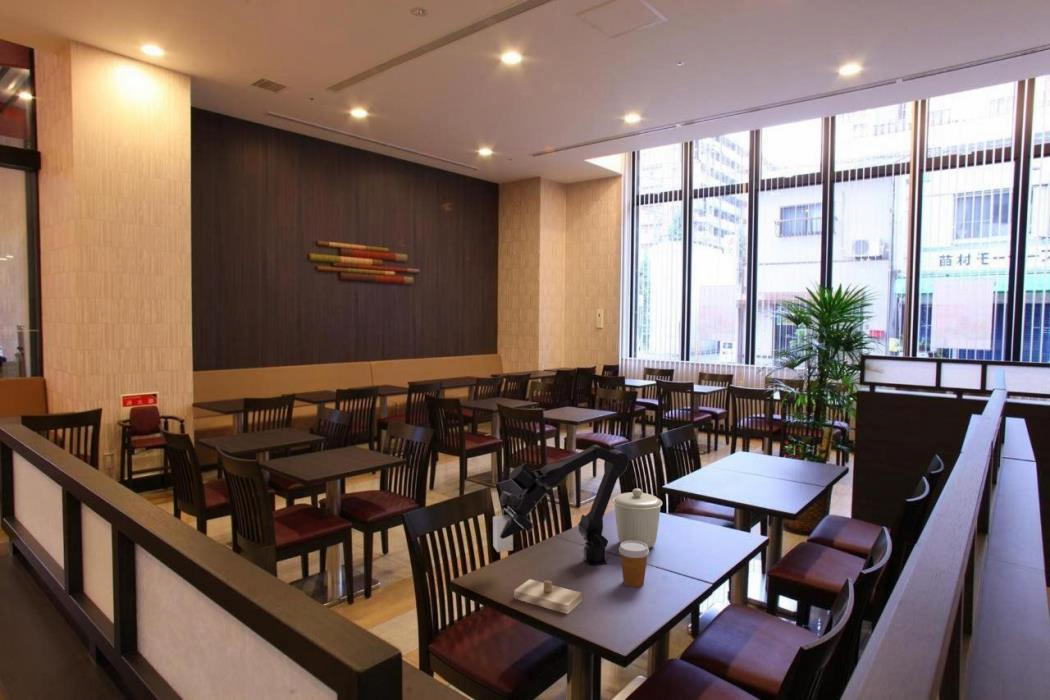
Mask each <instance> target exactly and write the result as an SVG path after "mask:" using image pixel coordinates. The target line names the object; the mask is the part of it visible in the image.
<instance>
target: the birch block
mask: <svg viewBox="0 0 1050 700" xmlns="http://www.w3.org/2000/svg"><path fill="white" fill-rule="evenodd" d="M513 593H514V595H513V599H514V598H515V599H514V600H517V599H518V601H522V602H524V601H525V602H524V603H529V604H532V605H536V606H539V607H542V608H545V609H549V610H552V611H555V612H558V613H559V612H560V613H562V614H566V615H568V614H569V613H571V612H572V611H573V610H574V609H575V608H576V607H577V606H578V605H579V604H581V602H583V601H582V600H583V596H582V593H583V592H581V591H577V590H576V591H575V590H571V589H568V588H565V587H560V586H557V585H553V581H552V580H550V579H547V580H544V581H543V582H541V581H538V580H536V579H535V580H534V579H531V578H530V579H528V580H527V581H525V582H524V583H522V584H521V585H519V586H518V587H516V589H514V591H513Z"/></svg>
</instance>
